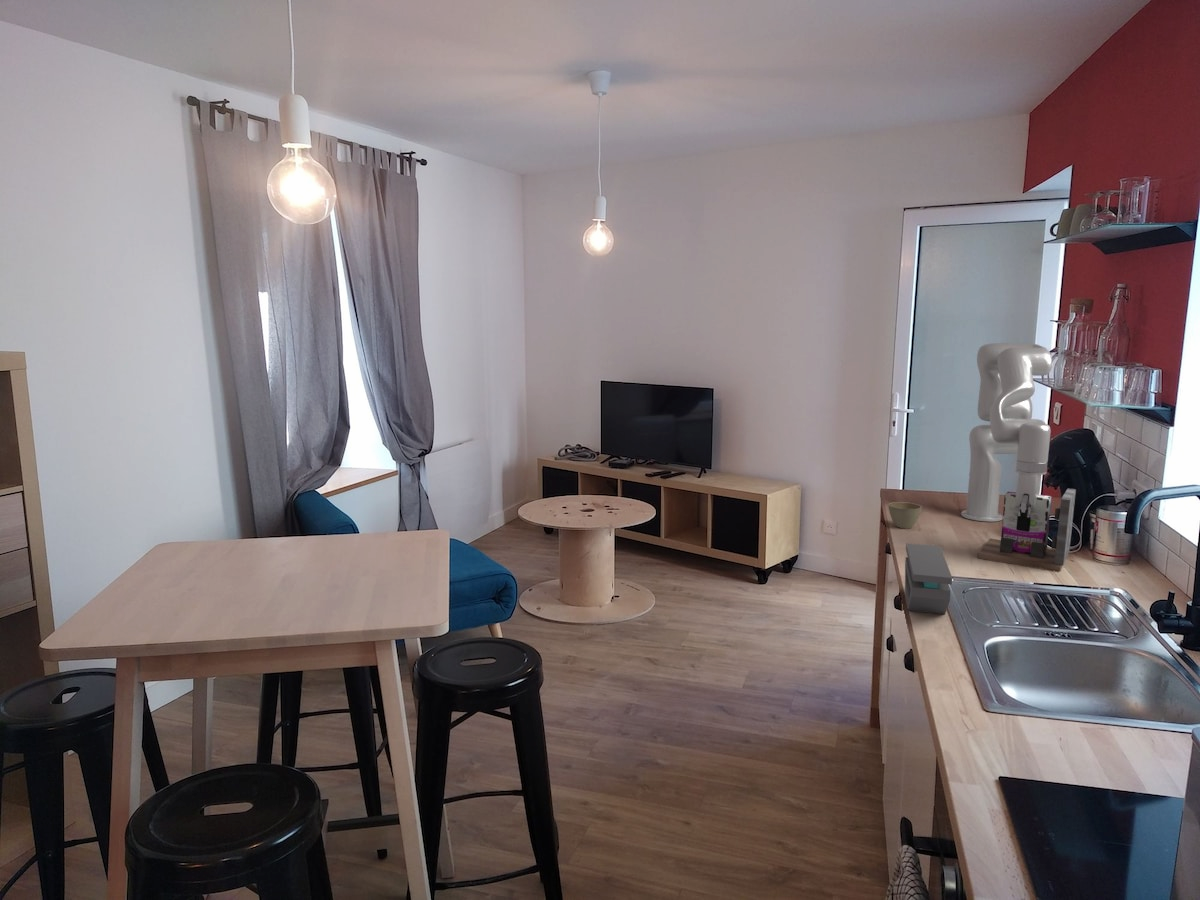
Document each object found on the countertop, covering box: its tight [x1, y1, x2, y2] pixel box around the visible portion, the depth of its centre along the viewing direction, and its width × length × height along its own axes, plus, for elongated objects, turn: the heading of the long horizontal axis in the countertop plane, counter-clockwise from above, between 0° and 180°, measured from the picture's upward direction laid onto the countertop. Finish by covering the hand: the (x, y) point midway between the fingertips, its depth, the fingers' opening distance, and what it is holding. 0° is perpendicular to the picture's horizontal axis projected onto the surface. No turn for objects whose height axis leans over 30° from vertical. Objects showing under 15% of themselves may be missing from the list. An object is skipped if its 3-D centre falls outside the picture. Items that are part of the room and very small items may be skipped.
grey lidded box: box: [904, 543, 953, 615], centre depth 179 cm, size 25×8×11 cm, turn 162°
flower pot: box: [888, 501, 923, 529], centre depth 247 cm, size 10×10×7 cm
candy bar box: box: [1000, 491, 1052, 556], centre depth 215 cm, size 11×5×16 cm, turn 52°
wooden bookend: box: [977, 487, 1077, 572], centre depth 214 cm, size 18×20×20 cm
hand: (1025, 526), depth 214 cm, fingers open, 9 cm apart
